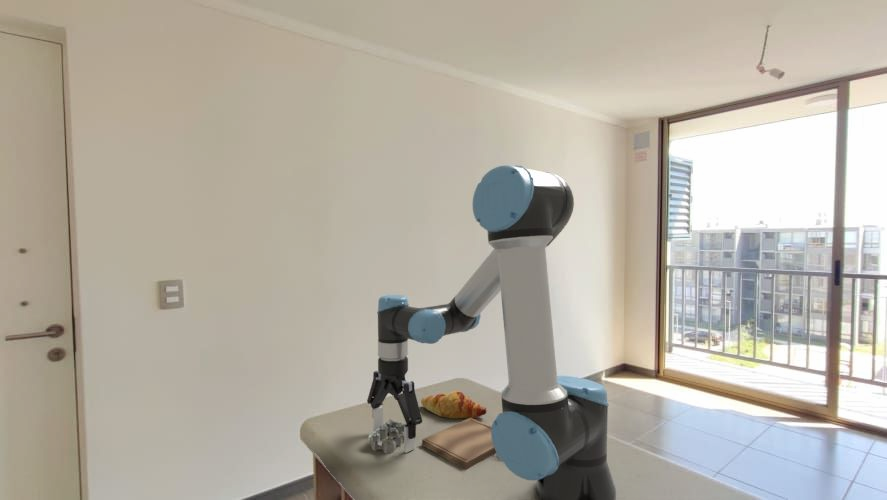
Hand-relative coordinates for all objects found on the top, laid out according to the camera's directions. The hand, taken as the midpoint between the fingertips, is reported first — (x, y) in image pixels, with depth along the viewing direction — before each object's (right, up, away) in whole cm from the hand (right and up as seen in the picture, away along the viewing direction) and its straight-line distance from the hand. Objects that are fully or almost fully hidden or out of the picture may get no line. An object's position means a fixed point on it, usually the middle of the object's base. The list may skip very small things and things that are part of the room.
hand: (393, 441), depth 105 cm
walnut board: (+19, 0, -1) cm, 19 cm away
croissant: (+16, 0, +18) cm, 24 cm away
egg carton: (-1, -1, 0) cm, 1 cm away
